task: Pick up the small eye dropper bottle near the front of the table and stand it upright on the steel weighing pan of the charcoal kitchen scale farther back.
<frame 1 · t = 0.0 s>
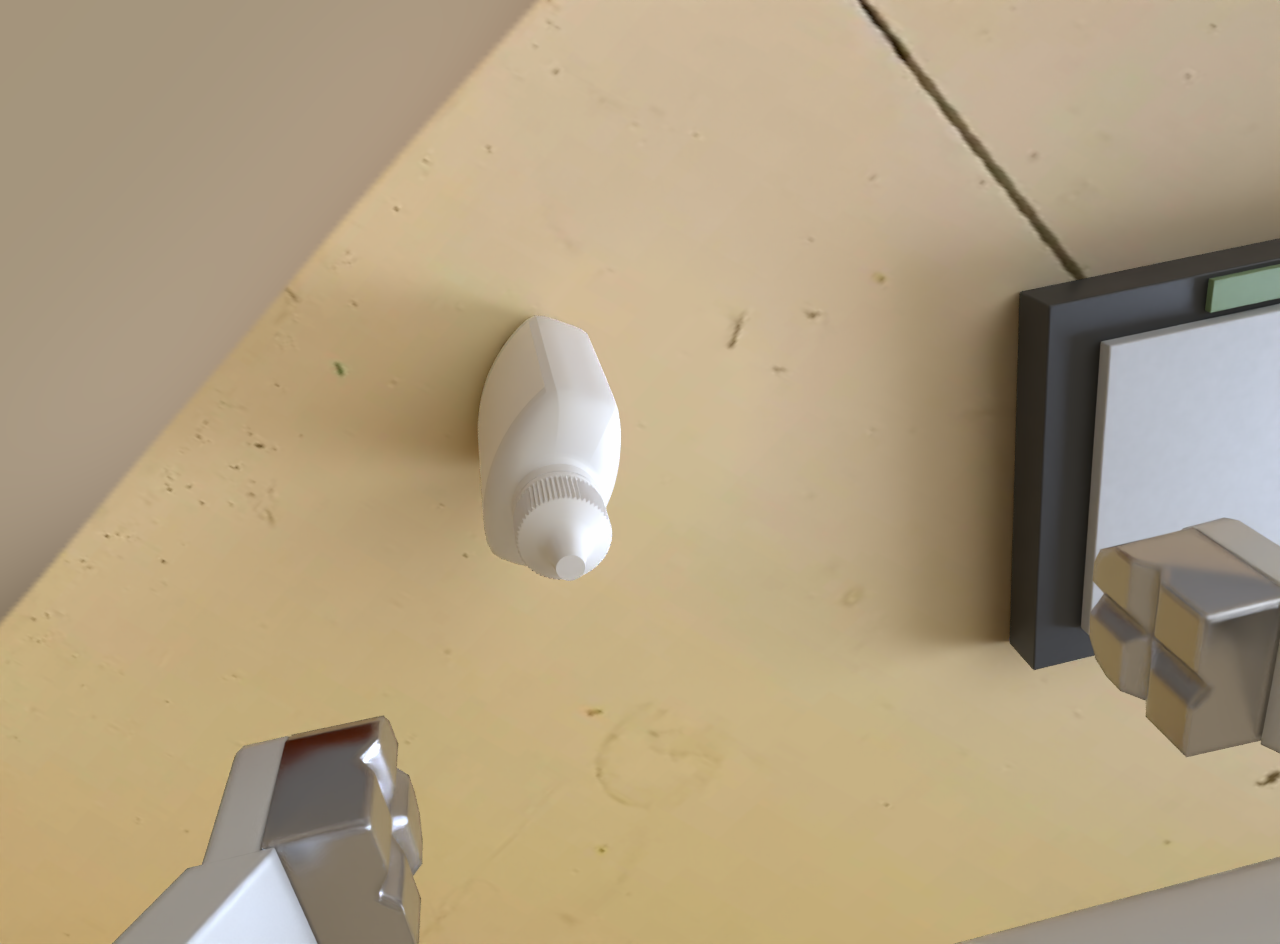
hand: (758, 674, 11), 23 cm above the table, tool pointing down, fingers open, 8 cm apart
eye dropper bottle: (532, 389, 34), on the table
scale: (1219, 437, 39), on the table
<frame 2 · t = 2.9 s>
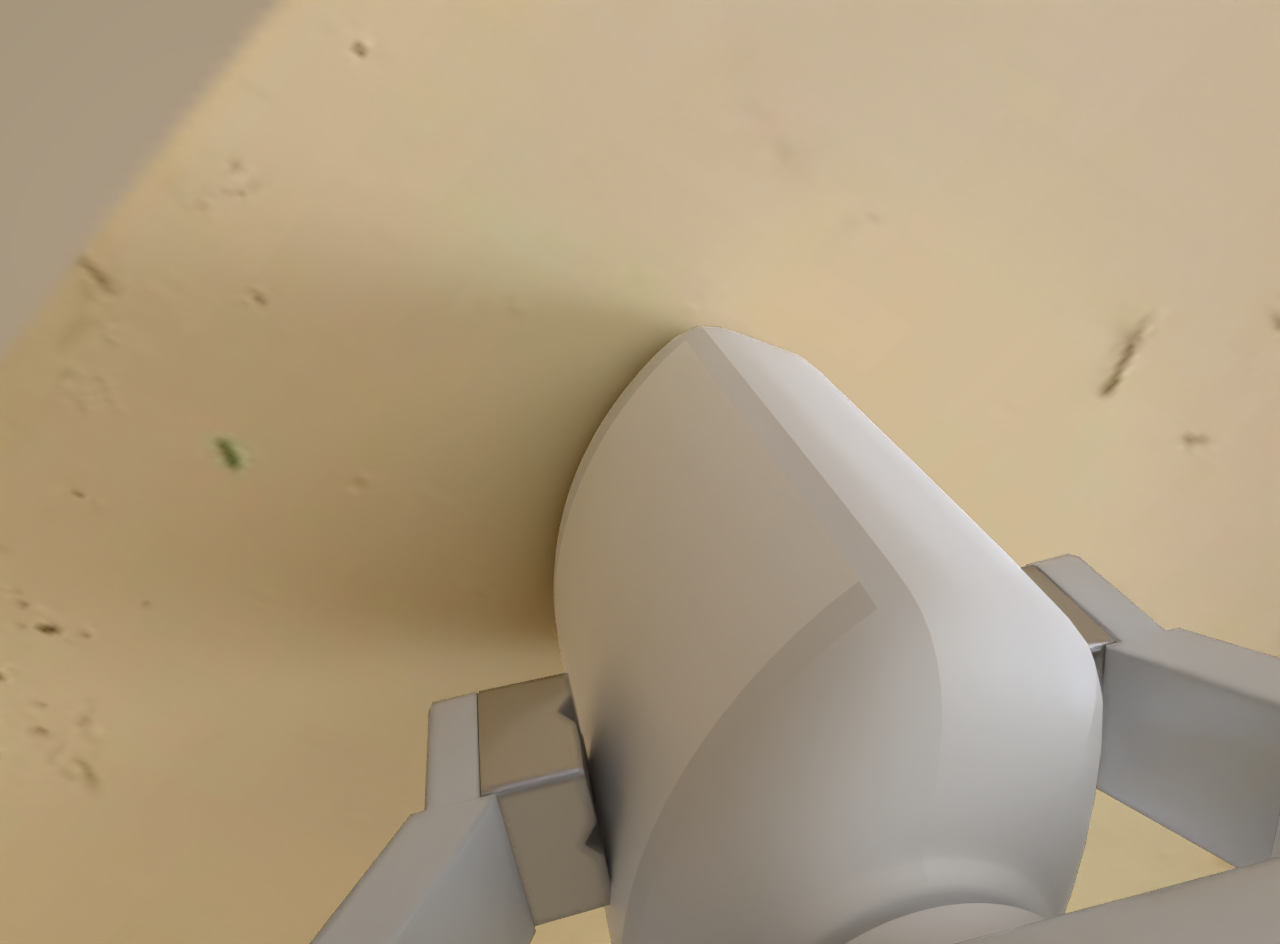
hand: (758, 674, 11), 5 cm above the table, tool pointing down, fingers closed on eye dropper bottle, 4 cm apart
eye dropper bottle: (674, 490, 15), on the table, touching gripper
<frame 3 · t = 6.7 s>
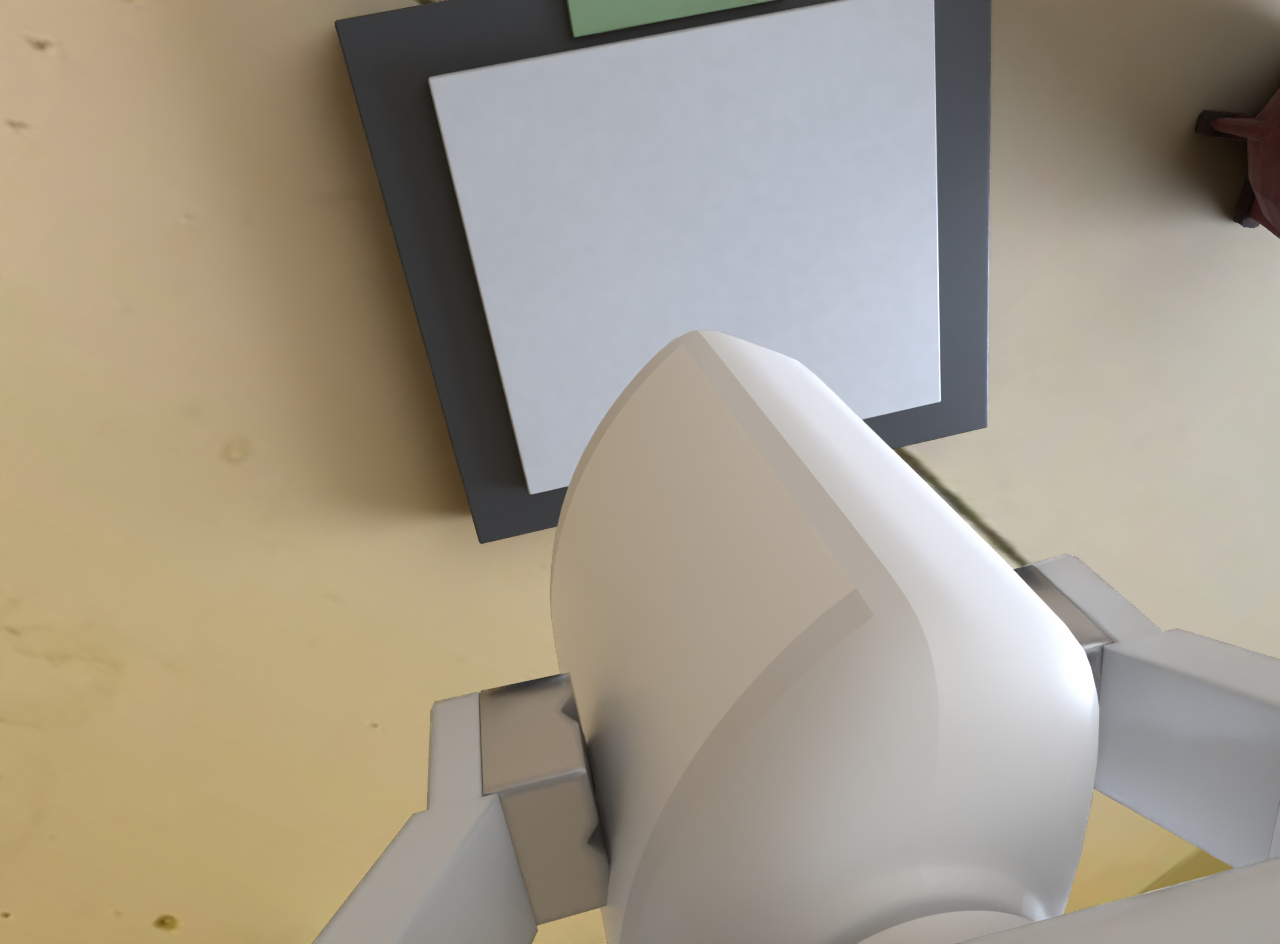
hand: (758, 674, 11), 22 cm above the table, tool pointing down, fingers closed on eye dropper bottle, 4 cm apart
mate gourd: (1262, 122, 33), on the table
eye dropper bottle: (671, 494, 15), point 17 cm above the table, touching gripper
scale: (695, 241, 31), on the table
when the fingers open (7 cm above the table, at t = 10.6 s): eye dropper bottle stays where it is, resting on scale.
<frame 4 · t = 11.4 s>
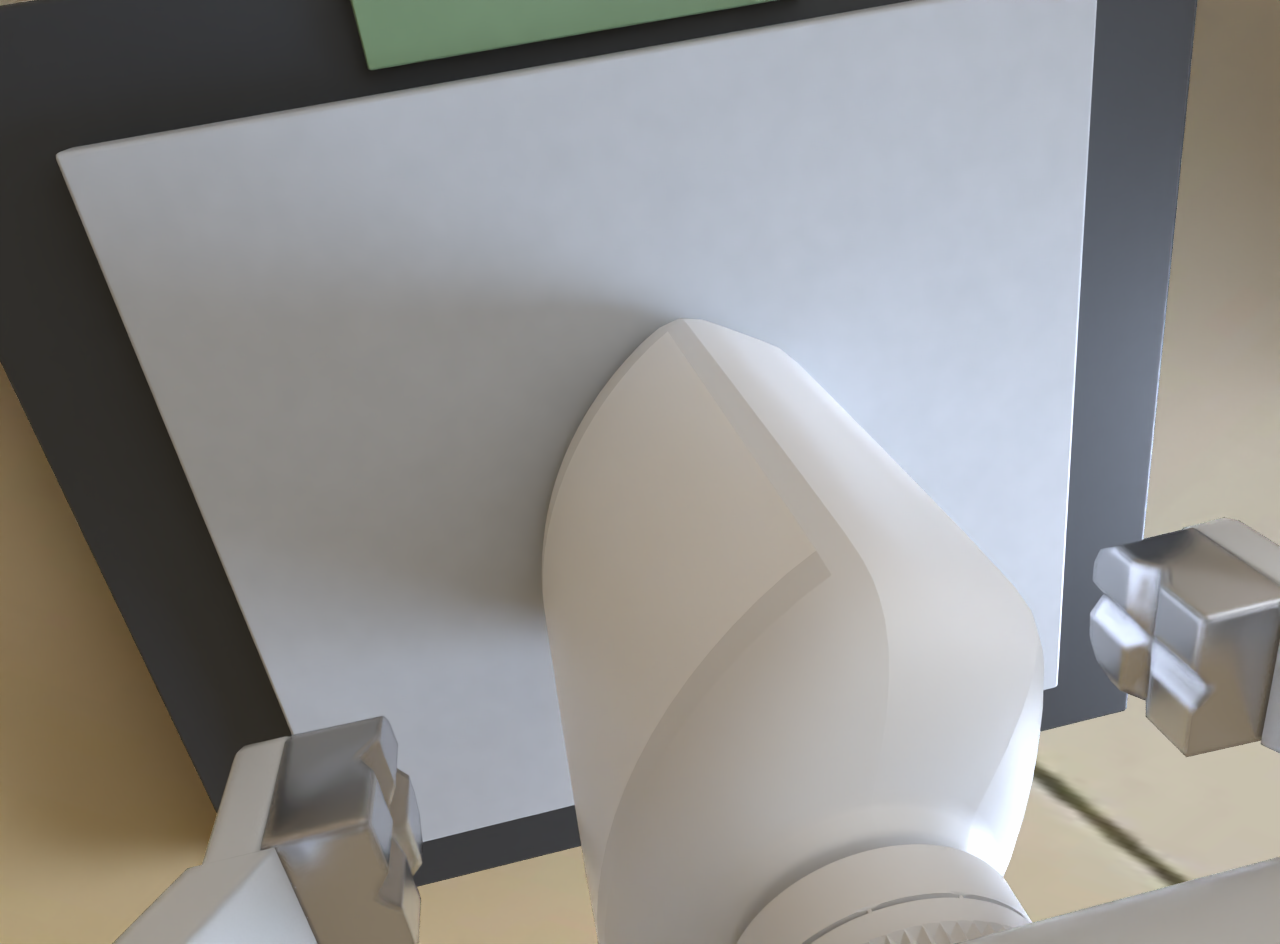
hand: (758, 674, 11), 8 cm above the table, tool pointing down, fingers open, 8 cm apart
eye dropper bottle: (658, 477, 16), point 2 cm above the table, touching scale
scale: (640, 419, 18), on the table
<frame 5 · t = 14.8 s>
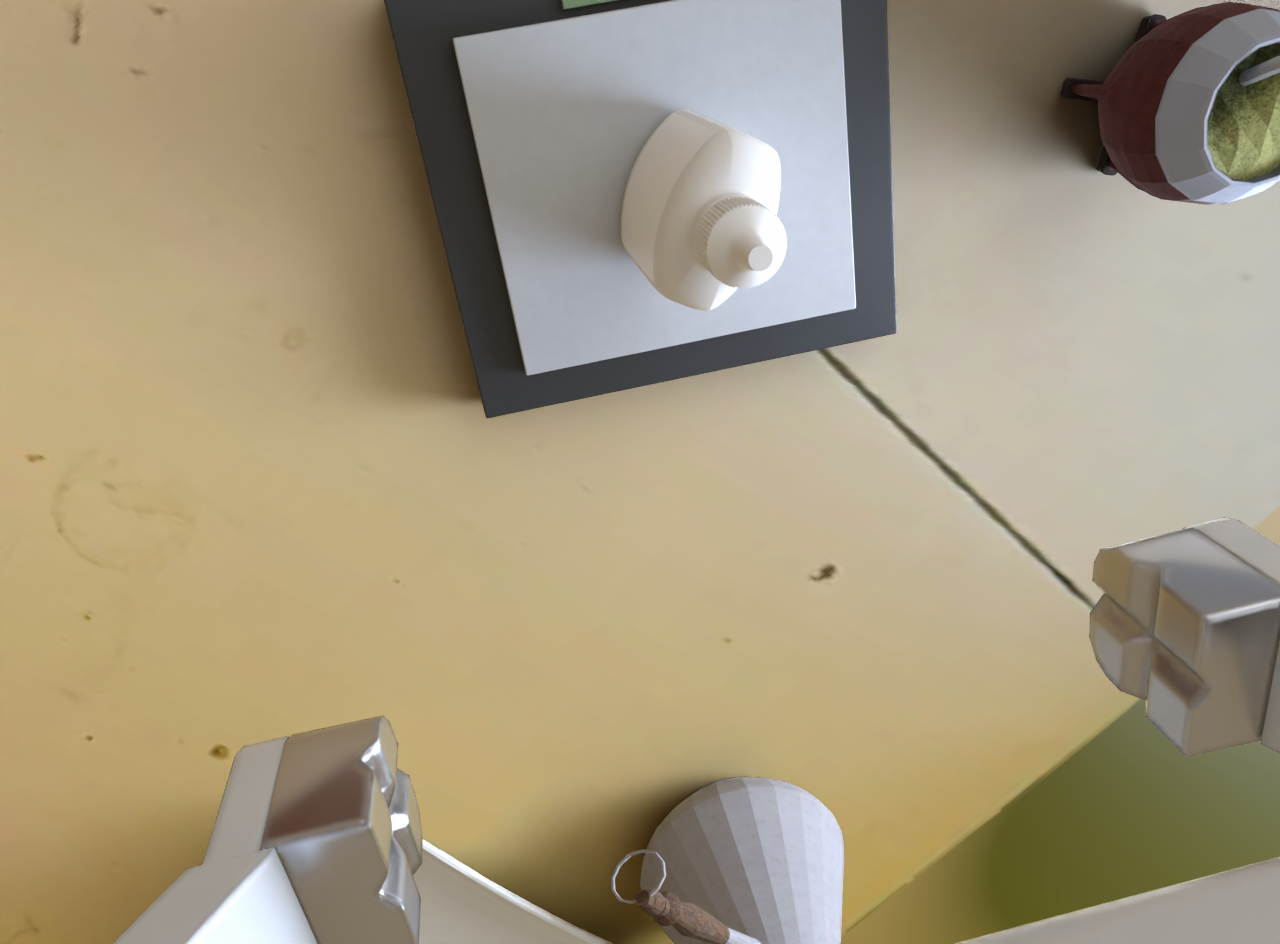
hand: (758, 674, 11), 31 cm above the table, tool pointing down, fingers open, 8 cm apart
mate gourd: (1116, 89, 41), on the table
eye dropper bottle: (669, 186, 37), point 2 cm above the table, touching scale
scale: (660, 176, 39), on the table
coffee pot: (688, 774, 53), on the table
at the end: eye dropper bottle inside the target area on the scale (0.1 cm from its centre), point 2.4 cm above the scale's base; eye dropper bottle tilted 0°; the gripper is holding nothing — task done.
